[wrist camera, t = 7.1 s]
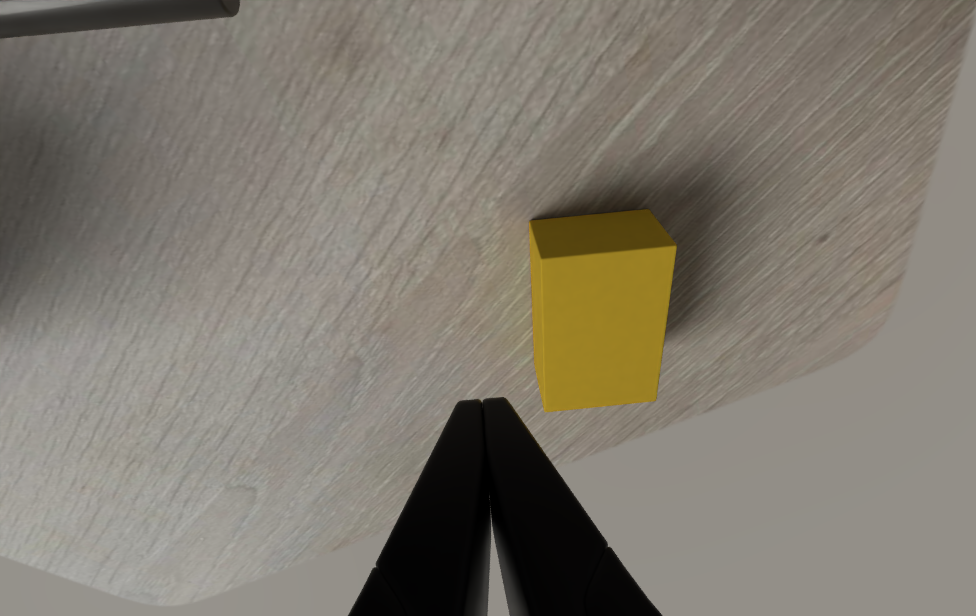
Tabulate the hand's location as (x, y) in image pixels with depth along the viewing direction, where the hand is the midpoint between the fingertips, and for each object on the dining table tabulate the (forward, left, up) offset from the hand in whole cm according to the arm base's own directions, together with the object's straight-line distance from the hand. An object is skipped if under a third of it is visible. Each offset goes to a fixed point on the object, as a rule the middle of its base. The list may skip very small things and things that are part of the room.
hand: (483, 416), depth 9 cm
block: (-4, +5, -12) cm, 13 cm away
